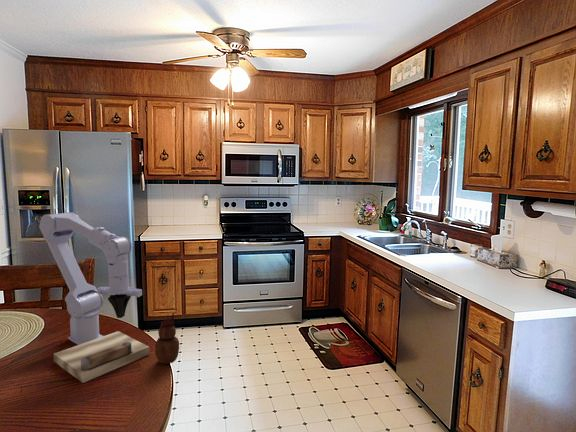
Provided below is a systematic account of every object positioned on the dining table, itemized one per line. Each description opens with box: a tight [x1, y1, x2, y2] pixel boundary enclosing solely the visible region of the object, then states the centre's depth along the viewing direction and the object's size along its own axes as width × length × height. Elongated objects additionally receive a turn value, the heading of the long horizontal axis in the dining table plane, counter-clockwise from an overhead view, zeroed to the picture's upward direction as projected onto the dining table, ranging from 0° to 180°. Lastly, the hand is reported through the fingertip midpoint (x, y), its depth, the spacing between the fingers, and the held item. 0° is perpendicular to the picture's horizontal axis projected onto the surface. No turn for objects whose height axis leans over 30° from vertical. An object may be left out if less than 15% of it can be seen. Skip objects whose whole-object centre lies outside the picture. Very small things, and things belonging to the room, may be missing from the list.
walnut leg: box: [81, 342, 132, 370], centre depth 106 cm, size 14×3×2 cm, turn 141°
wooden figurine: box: [154, 312, 180, 365], centre depth 110 cm, size 7×6×15 cm
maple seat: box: [53, 330, 150, 384], centre depth 112 cm, size 18×20×3 cm
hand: (120, 316), depth 118 cm, fingers closed
